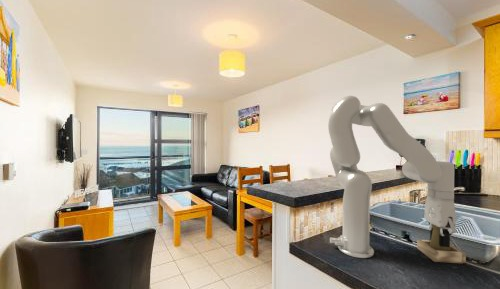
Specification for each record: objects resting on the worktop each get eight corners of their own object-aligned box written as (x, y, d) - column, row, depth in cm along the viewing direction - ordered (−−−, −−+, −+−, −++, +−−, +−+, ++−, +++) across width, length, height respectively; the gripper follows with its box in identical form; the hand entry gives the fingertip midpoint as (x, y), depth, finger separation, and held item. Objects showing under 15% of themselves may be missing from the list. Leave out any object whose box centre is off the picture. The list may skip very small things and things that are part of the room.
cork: (454, 255, 80) (455, 224, 80) (435, 253, 82) (435, 223, 81) (443, 247, 86) (444, 219, 86) (425, 245, 88) (426, 217, 87)
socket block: (434, 261, 80) (434, 251, 80) (417, 248, 90) (417, 239, 90) (465, 263, 78) (465, 253, 78) (444, 249, 88) (444, 241, 88)
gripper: (415, 189, 92) (415, 233, 93) (445, 200, 76) (444, 253, 76) (435, 190, 92) (435, 234, 92) (470, 200, 75) (469, 255, 75)
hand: (439, 242), depth 84 cm, fingers closed on cork, 4 cm apart
